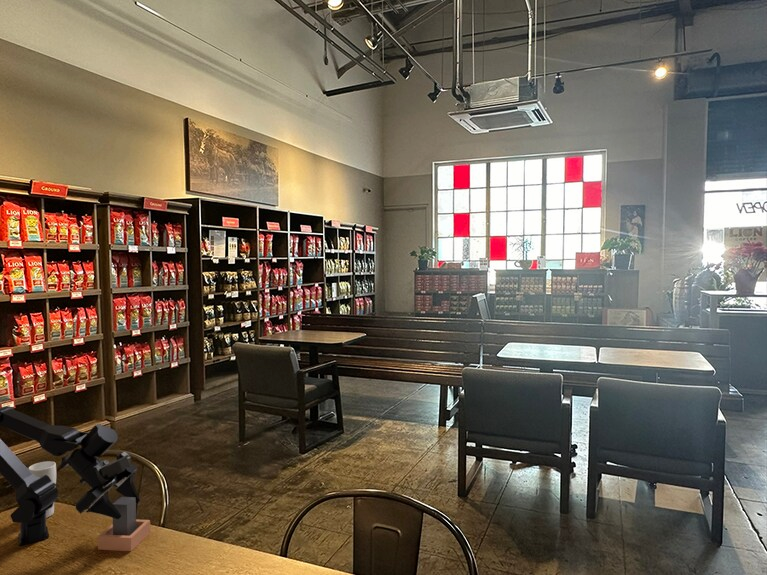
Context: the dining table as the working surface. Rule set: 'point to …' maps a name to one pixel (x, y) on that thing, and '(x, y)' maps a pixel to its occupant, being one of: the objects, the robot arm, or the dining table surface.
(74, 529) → the dining table surface
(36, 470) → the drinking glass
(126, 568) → the dining table surface
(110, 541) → the socket
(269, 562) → the dining table surface
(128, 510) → the plug
